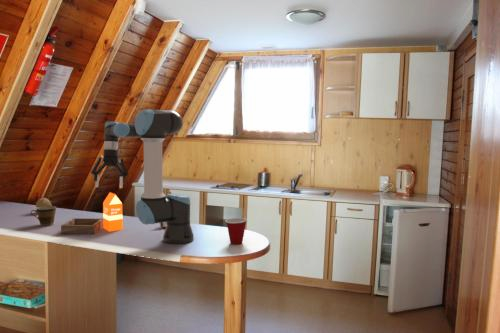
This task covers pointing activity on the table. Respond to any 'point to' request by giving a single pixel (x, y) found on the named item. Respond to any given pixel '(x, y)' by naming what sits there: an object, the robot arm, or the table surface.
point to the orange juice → (112, 213)
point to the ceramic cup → (45, 215)
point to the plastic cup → (236, 230)
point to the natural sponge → (43, 202)
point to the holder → (82, 226)
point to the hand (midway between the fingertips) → (109, 187)
